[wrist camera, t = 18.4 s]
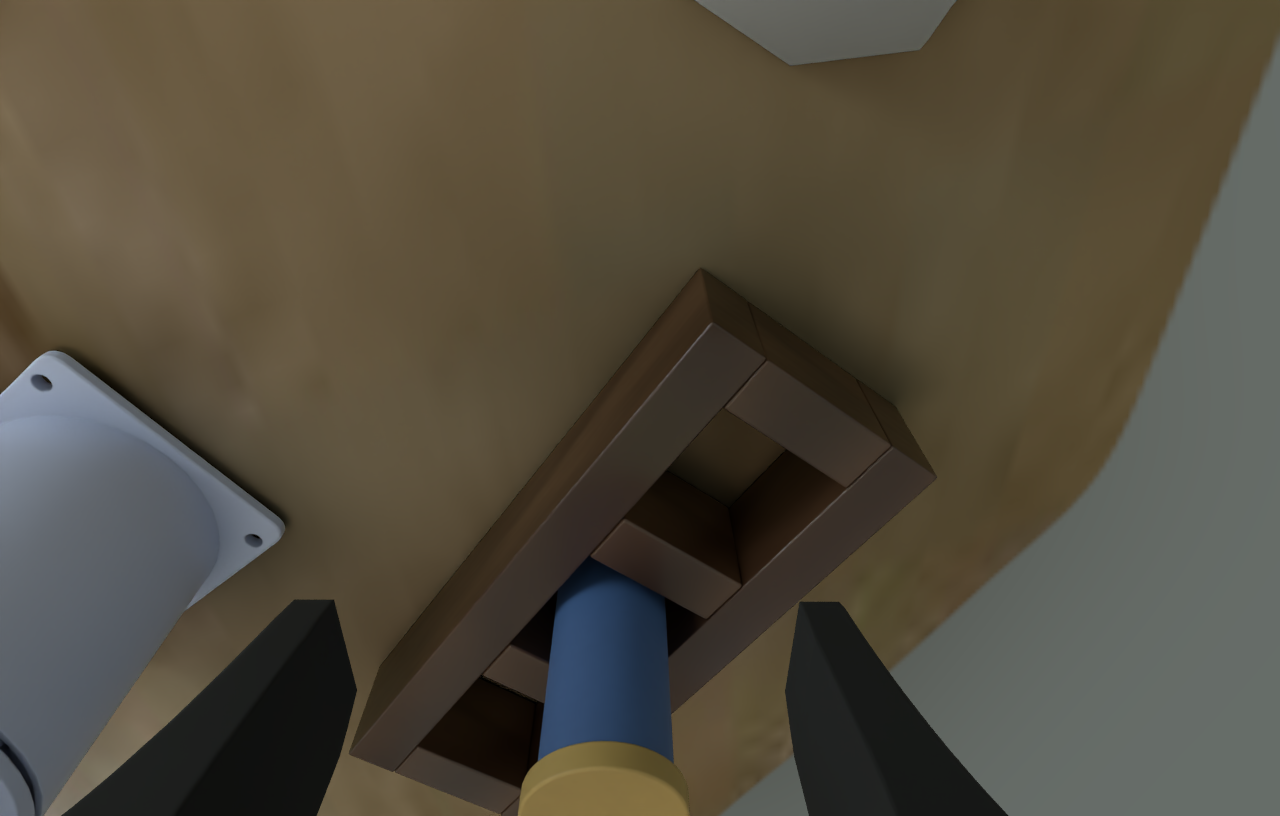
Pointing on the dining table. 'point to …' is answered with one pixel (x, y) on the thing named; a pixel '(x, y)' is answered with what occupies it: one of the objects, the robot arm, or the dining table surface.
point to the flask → (832, 26)
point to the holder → (645, 538)
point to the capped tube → (606, 705)
